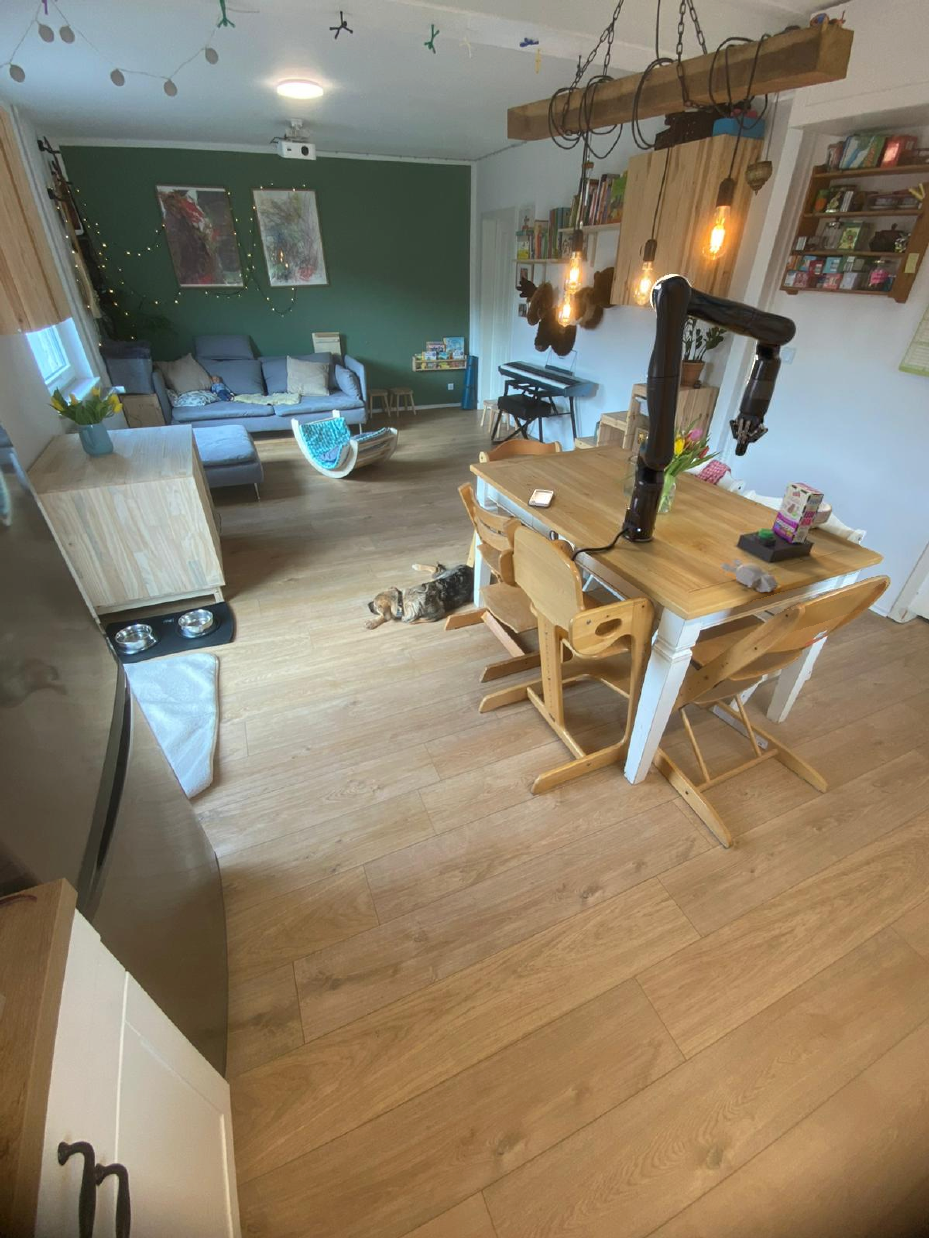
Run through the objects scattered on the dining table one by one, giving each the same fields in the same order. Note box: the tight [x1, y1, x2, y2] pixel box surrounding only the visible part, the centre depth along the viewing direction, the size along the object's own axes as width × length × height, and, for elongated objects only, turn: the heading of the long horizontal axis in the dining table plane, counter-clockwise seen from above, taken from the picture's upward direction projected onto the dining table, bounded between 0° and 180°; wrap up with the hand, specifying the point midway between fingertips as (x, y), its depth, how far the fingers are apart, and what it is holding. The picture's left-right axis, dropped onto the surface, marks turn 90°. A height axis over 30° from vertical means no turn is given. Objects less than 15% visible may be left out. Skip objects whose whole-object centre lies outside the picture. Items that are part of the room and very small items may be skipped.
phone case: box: [528, 488, 554, 508], centre depth 209 cm, size 7×1×15 cm
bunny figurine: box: [720, 558, 779, 593], centre depth 154 cm, size 10×5×15 cm
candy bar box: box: [771, 482, 825, 543], centre depth 170 cm, size 11×5×16 cm, turn 5°
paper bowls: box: [810, 500, 834, 530], centre depth 192 cm, size 15×15×8 cm
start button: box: [758, 528, 774, 539], centre depth 169 cm, size 4×4×2 cm
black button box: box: [736, 528, 815, 563], centre depth 173 cm, size 18×13×6 cm
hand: (739, 455), depth 163 cm, fingers closed
